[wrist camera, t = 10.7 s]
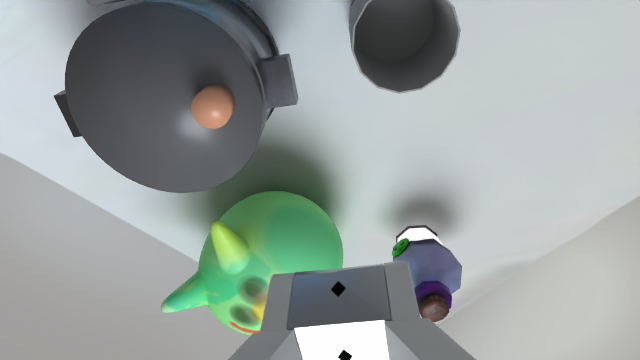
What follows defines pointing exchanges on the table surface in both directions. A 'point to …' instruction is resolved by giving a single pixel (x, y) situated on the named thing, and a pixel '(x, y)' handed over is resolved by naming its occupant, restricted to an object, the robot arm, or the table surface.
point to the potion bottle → (429, 270)
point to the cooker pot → (252, 36)
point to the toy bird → (257, 256)
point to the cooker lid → (164, 96)
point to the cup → (403, 41)
